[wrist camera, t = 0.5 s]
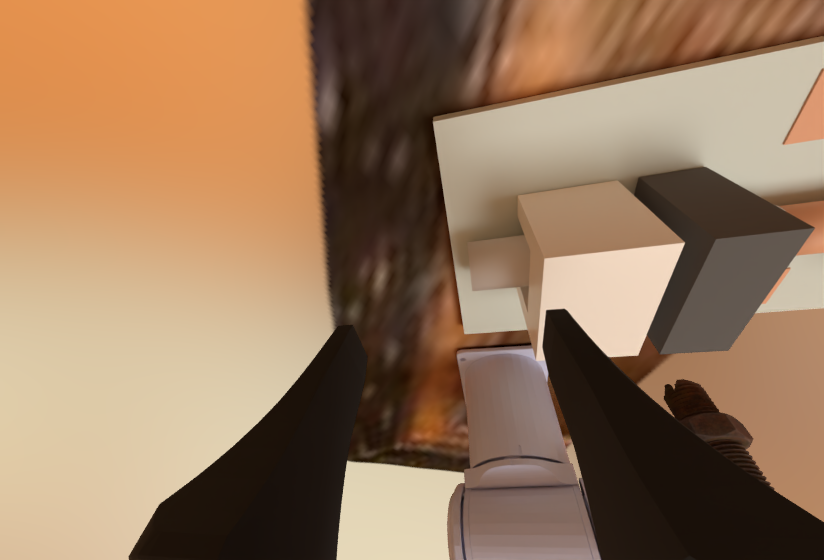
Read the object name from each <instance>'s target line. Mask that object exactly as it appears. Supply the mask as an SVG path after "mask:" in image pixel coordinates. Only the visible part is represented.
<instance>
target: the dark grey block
mask: <svg viewBox="0 0 824 560" xmlns="http://www.w3.org/2000/svg"><path fill="white" fill-rule="evenodd" d="M634 196H635V197H636V198H637V199H638V200H639V201H640V202H642V203H643V204H644V205H645V206H646V207H647V208H648V209H649V210H650V211H651V212H652V213H654V214H655V215H656V216H657V217H658V218H659V219H660V220H661V221H662V222H663V223H664V224H665V225H667V226H668V227H669V228H670V229H671V230H672V231H673V232H674V233H675V234H676V235H677V236H678V237H680V238H681V239H682V240H683V241H684V242H685V244H684V247H683V249H682V251H681V254H680V256H679V259H678V261H677V263H676V266H675V268H674V271H673V273H672V275H671V278H670V280H669V282H668V285H667V287H666V290H665V292H664V294H663V297H662V299H661V302H660V304H659V306H658V309H657V311H656V313H655V316H654V318H653V321H652V323H651V325H650V328H649V330H648V333H647V335H648V337H649V338H650V340H651V342H652V343H653V345H654V346H655V348H656V349H657V351H658V352H659V354H673V353H692V352H709V351H728V350H729V349H730V347H731V346H732V344H733V343H734V342H735V340H736V339H737V338H738V336H739V335H740V333H741V332H742V331H743V329H744V328H745V326H746V325H747V323H748V322H749V321H750V319H751V318H752V317H753V315H754V314H755V312H756V311H757V309H758V308H759V307H760V305H761V304H762V302H763V301H764V300H765V298H766V297H767V295H768V294H769V293H770V291H771V290H772V288H773V287H774V286H775V284H776V283H777V281H778V280H779V278H780V277H781V276H782V274H783V273H784V271H785V270H786V269H787V267H788V266H789V264H790V263H791V262H792V260H793V259H794V257H795V256H796V254H797V253H798V252H799V250H800V249H801V247H802V246H803V245H804V243H805V242H806V240H807V239H808V238H809V236H810V235H811V233H812V232H813V231H814V229H815V227H813V226H811V225H809V224H807V223H806V222H804V221H802V220H800V219H798V218H797V217H795V216H793V215H791V214H790V213H788V212H786V211H784V210H782V209H781V208H779V207H777V206H775V205H773V204H772V203H770V202H768V201H766V200H765V199H763V198H761V197H759V196H757V195H756V194H754V193H752V192H750V191H748V190H747V189H745V188H743V187H741V186H740V185H738V184H736V183H734V182H732V181H731V180H729V179H727V178H725V177H723V176H722V175H720V174H718V173H716V172H715V171H713V170H711V169H709V168H707V167H701V168H694V169H688V170H681V171H675V172H668V173H662V174H655V175H648V176H642V177H639V178H638V182H637V185H636V189H635V193H634Z"/></svg>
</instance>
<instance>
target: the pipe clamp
mask: <svg viewBox="0 0 824 560" xmlns="http://www.w3.org/2000/svg"><path fill="white" fill-rule="evenodd" d="M433 126H434V133H435V139H436V146H437V153H438V159H439V166H440V173H441V180H442V186H443V193H444V200H445V207H446V213H447V220H448V227H449V233H450V240H451V247H452V254H453V260H454V267H455V274H456V281H457V287H458V294H459V301H460V307H461V314H462V321H463V328H464V334H475V333H489V332H502V331H516V330H528V329H527V326H526V322H525V318H524V315H523V311H522V307H521V304H520V300H519V296H518V293H517V289H516V288H517V287H523V286H529V272H530V248H529V246H528V243H527V240H526V238H525V235H524V232H523V230H522V227H521V225H520V222H519V219H518V217H517V203H518V195H523V194H530V193H537V192H543V191H550V190H556V189H563V188H569V187H576V186H583V185H589V184H596V183H602V182H609V181H616V180H618V181H619V182H620V183H621V184H622V185H623V186H624V187H625V188H626V189H627V190H629V191H630V192H631V193H632V194H633V195H634V193H635V189H636V185H637V182H638V178H639V177H642V176H648V175H655V174H662V173H668V172H675V171H681V170H688V169H694V168H701V167H707V168H709V169H711V170H713V171H715V172H716V173H718V174H720V175H722V176H723V177H725V178H727V179H729V180H731V181H732V182H734V183H736V184H738V185H740V186H741V187H743V188H745V189H747V190H748V191H750V192H752V193H754V194H756V195H757V196H759V197H761V198H763V199H765V200H766V201H768V202H770V203H772V204H773V205H775V206H777V207H779V208H781V209H782V210H784V211H786V212H788V213H790V214H791V215H793V216H795V217H797V218H798V219H800V220H802V221H804V222H806V223H807V224H809V225H811V226H813V227H815V229H814V231H813V232H812V233H811V235H810V236H809V238H808V239H807V240H806V242H805V243H804V245H803V246H802V247H801V249H800V250H799V252H798V253H797V254H796V256H795V257H794V259H793V260H792V262H791V263H790V264H789V266H788V267H787V269H786V270H785V271H784V273H783V274H782V276H781V277H780V278H779V280H778V281H777V283H776V284H775V286H774V287H773V288H772V290H771V291H770V293H769V294H768V295H767V297H766V298H765V300H764V301H763V302H762V304H761V305H760V307H759V308H758V309H757V311H756V312H755V313H763V312H776V311H790V310H804V309H817V308H824V36H820V37H815V38H810V39H805V40H801V41H796V42H791V43H786V44H781V45H777V46H772V47H767V48H762V49H757V50H753V51H748V52H743V53H738V54H733V55H729V56H724V57H719V58H714V59H709V60H705V61H700V62H695V63H690V64H685V65H681V66H676V67H671V68H666V69H661V70H657V71H652V72H647V73H642V74H637V75H633V76H628V77H623V78H618V79H613V80H609V81H604V82H599V83H594V84H589V85H584V86H580V87H575V88H570V89H565V90H560V91H556V92H551V93H546V94H541V95H536V96H532V97H527V98H522V99H517V100H512V101H508V102H503V103H498V104H493V105H488V106H484V107H479V108H474V109H469V110H464V111H460V112H455V113H450V114H445V115H440V116H436V117H433Z"/></svg>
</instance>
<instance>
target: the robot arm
mask: <svg viewBox="0 0 824 560" xmlns="http://www.w3.org/2000/svg"><path fill="white" fill-rule="evenodd" d="M542 348H543V353H544V357H545V361H536V359H535V355H534V351H533V348H532V345H529V346H513V347H497V348H482V349H466V350H459V351H458V352H457V361H458V366H459V371H460V377H461V382H462V387H463V393H464V398H465V404H466V405H467V420H468V436H469V453H470V469H465V470H464V477H465V483H461V484H458V485H457V487H456V489H455V491H454V493H453V494H452V496H451V499H450V502H449V508H448V521H447V527H448V528H447V531H448V548H449V557H450V560H824V522H822V521H821V520H819V519H818V518H816V517H814V516H813V515H812V514H810V513H808V512H807V511H805V510H804V509H802V508H801V507H799V506H797V505H796V504H794V503H793V502H791V501H789V500H788V499H786V498H785V497H783V496H782V495H780V494H779V493H777V492H776V491H774V490H773V489H771V488H770V487H768V486H767V485H765V484H764V483H762V482H761V481H760V480H758V479H757V478H755V477H754V476H752V475H751V474H749V473H748V472H746V471H745V470H744V469H742V468H741V467H739V466H738V465H736V464H735V463H734V462H732V461H731V460H730V459H728V458H727V457H725V456H724V455H723V454H721V453H720V452H719V451H717V450H716V449H715V448H713V447H712V446H711V445H709V444H708V443H707V442H705V441H704V440H703V439H701V438H700V437H698V436H697V435H696V434H694V433H693V432H692V431H690V430H689V429H688V428H687V427H685V426H684V425H683V424H682V423H680V422H679V421H678V420H677V419H676V418H674V417H673V416H672V415H671V414H669V413H668V412H667V411H666V410H664V409H663V408H662V407H661V406H660V405H659V404H658V403H656V402H655V401H654V400H653V399H652V398H650V397H649V396H648V395H647V394H646V393H645V392H644V391H643V390H641V388H639V387H638V386H637V385H636V384H635V383H634V382H633V381H632V380H631V379H630V378H629V377H628V376H627V375H626V374H625V373H624V372H623V371H622V370H621V369H620V368H618V367H617V366H616V365H615V364H614V362H613V361H612V360H611V359H610V358H609V357H608V356H607V355H606V354H605V353H604V352H603V351H602V350H601V349H600V348H599V347H598V346H597V345H596V344H595V342H594V341H593V340H592V339H591V338H590V337H589V336H588V335H587V333H586V332H585V331H584V330H583V329H582V328H581V326H580V325H579V324H578V323H577V322H576V320H575V319H574V318H573V317H572V316H571V314H570V313H569V312H568V311H567V310H566V309H552V310H546V316H545V325H544V335H543V344H542ZM366 366H367V355H366V352H365V350H364V348H363V346H362V344H361V342H360V340H359V337H358V335H357V333H356V331H355V329H354V327H353V325H345V326H338V327H337V328H336V330H335V331H334V332H333V334H332V335H331V336H330V338H329V339H328V340H327V342H326V343H325V345H324V346H323V347H322V348H321V350H320V351H319V353H318V354H317V355H316V357H315V358H314V359H313V361H312V362H311V363H310V365H309V366H308V367H307V368H306V370H305V371H304V372H303V373H302V375H301V376H300V377H299V378H298V380H297V381H296V382H295V383H294V385H292V387H291V388H290V389H289V390H288V391H287V393H286V394H285V395H284V396H283V397H282V398H281V400H280V401H279V402H278V403H277V404H276V405H275V406H274V407H273V408H272V409H271V410H270V411H269V412H268V413H267V414H266V415H265V417H264V418H263V419H262V420H261V421H260V422H259V423H258V424H257V425H255V426H254V427H253V428H252V429H251V430H250V431H249V432H248V433H247V434H246V435H245V436H244V437H243V438H242V439H240V440H239V442H237V443H236V444H235V445H234V446H233V447H232V448H231V449H229V450H228V451H227V452H226V453H225V454H224V455H222V456H221V457H220V458H219V459H218V460H216V461H215V462H214V463H213V464H212V465H210V466H209V467H208V468H207V469H205V470H204V471H203V472H202V473H200V474H199V475H198V476H197V477H196V478H194V479H193V480H191V481H190V482H189V483H188V484H186V485H185V486H184V487H182V488H181V489H179V490H178V491H177V492H175V493H174V494H173V495H171V496H170V497H169V498H167V499H166V500H165V501H163V502H162V503H161V504H160V505H159V506H158V508H157V509H156V511H155V513H154V514H153V516H152V518H151V519H150V521H149V523H148V525H147V526H146V528H145V530H144V531H143V533H142V535H141V536H140V538H139V540H138V542H137V543H136V545H135V547H134V548H133V550H132V552H131V554H130V555H129V560H336V557H337V544H338V532H339V521H340V512H341V501H342V494H343V486H344V478H345V471H346V464H347V457H348V451H349V445H350V440H351V436H352V432H353V428H354V424H355V419H356V415H357V411H358V407H359V403H360V399H361V395H362V391H363V387H364V382H365V375H366ZM548 374H549V377H550V380H551V383H552V385H553V388H554V391H555V394H556V397H557V399H558V402H559V405H560V408H561V410H562V413H563V416H564V419H565V422H566V424H567V427H568V430H569V433H570V435H571V439H572V442H573V445H574V448H575V452H576V455H577V459H578V463H579V467H580V471H581V475H582V478H579V483H580V488H581V491H580V488H579V484H578V481H577V477H576V474H575V470H574V467H573V464H572V463H570V461H569V458H568V455H567V451H566V447H565V444H564V440H563V437H562V433H561V430H560V426H559V423H558V419H557V416H556V412H555V409H554V406H553V402H552V399H551V395H550V392H549V388H548V385H547V380H548ZM581 492H582V494H581ZM582 496H583V497H582Z"/></svg>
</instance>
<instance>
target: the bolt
mask: <svg viewBox="0 0 824 560" xmlns="http://www.w3.org/2000/svg"><path fill="white" fill-rule="evenodd" d="M674 390H675V391H674ZM664 400H665V401H666V403H667V405H668V407H669V408H670V410H671V412H672V413H673V415H674V416H675V418H676V419H677V420H678V421H679V422H680V423H682V424H683V425H684V426H685V427H687V428H688V429H689V430H690V431H692V432H693V433H694V434H696V435H697V436H698V437H700V438H701V439H703V440H704V441H705V442H707V443H708V444H709V445H711V446H712V447H713V448H715V449H716V450H717V451H719V452H720V453H721V454H723V455H724V456H725V457H727V458H728V459H730V460H731V461H732V462H734V463H735V464H736V465H738V466H739V467H741V468H742V469H744V470H745V471H746V472H748V473H749V474H751V475H752V476H754V477H755V478H757V479H758V480H760V481H761V482H762V483H764V484H765V485H767V486H768V487H770V488H771V489H773V490H774V488H773V487H771V486H769V485H770V483H769V482H767V481H765V480H766V477H765V476H762V474H763V472H762V471H760V470H759V467H758V466H757V465H755V464H756V462H755V461H753V460H752V456H750V455H749V452H748V451H746V449H747V448H749V447H750V445H751V443H752V440H753V438H752V436H751V435H750V434H749V432H748V431H747V430H746V428H745V427H744V426H743V424H741V423H740V422H739V421H738V420H737V419H735V418H734V417H732V416H730V415H728V414H725V413H720V412H719V410H718V409H717V408H716V406H715V405H714V403H713V402H712V401H711V399H710V398H709V396H708V394H707V393H706V391H704V389H703V388H702V387H701V385H699V384H697V383H694V382H692V381H688V380H684V379H683V380H677V381H676V384H675V389H673V387H672V386H671V385H669V384H667V385H665V396H664Z"/></svg>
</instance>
